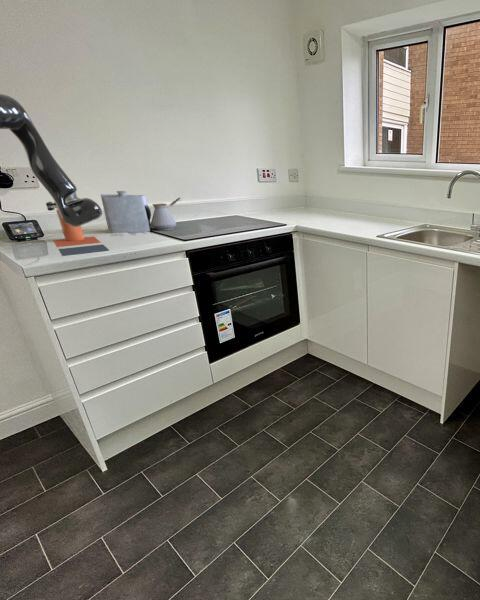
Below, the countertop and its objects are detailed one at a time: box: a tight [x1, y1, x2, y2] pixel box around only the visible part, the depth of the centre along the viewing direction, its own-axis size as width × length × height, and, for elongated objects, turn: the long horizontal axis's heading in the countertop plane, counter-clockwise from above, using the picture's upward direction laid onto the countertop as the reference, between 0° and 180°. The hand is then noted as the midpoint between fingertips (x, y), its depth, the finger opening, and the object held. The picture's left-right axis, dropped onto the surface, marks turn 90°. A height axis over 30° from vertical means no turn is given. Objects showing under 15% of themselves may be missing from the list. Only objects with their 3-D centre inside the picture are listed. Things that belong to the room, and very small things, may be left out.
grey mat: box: [58, 244, 110, 257], centre depth 140 cm, size 14×12×1 cm
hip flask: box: [100, 190, 151, 234], centre depth 171 cm, size 16×4×20 cm, turn 131°
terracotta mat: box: [53, 236, 102, 248], centre depth 152 cm, size 14×17×1 cm
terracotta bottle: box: [55, 208, 85, 241], centre depth 151 cm, size 6×6×19 cm
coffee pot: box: [150, 197, 181, 231], centre depth 188 cm, size 21×12×15 cm, turn 172°
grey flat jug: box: [100, 193, 152, 230], centre depth 179 cm, size 19×5×18 cm, turn 105°
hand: (68, 203), depth 137 cm, fingers closed on steel canister, 5 cm apart
